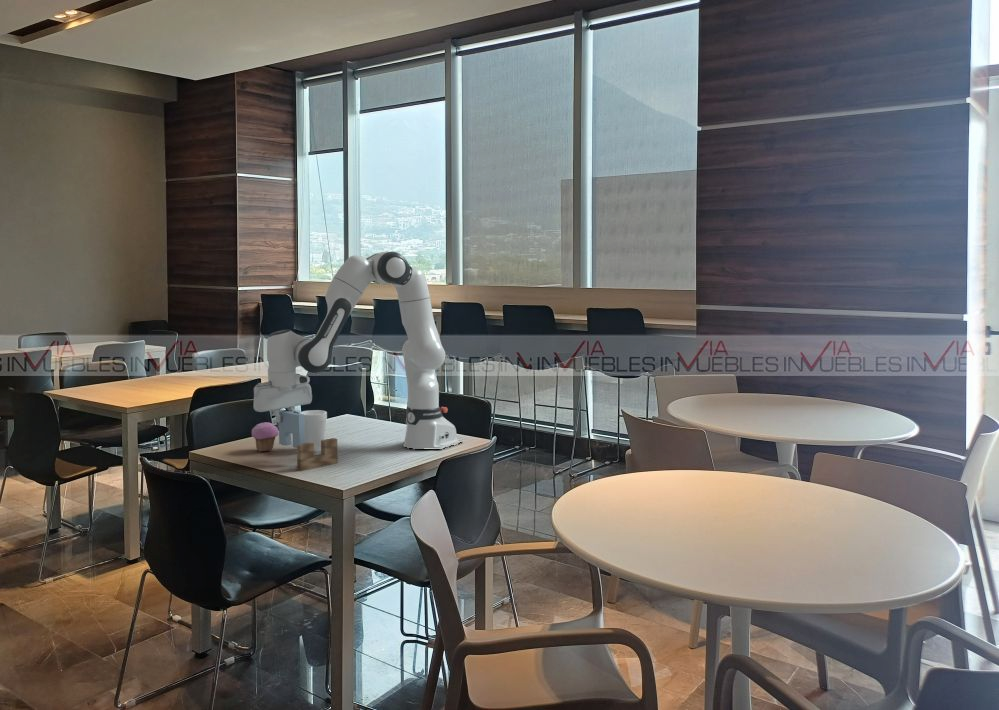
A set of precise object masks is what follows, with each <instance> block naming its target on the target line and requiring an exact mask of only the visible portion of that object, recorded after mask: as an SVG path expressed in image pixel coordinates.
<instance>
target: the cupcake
mask: <svg viewBox="0 0 999 710" xmlns="http://www.w3.org/2000/svg"><path fill="white" fill-rule="evenodd" d="M277 436H279V428H278V427H277V426H275V425H274V424H273V423H271V422H266V421H264V422H260V423H258V424H256V425H255V426H254V427H253V428H251V437H252V438H254V440H255V446H256V450H257V451H258V450H260V451H259V452H261V451H264V452H266V451H270V452H271V451H273V449H274V445H275V440H276V437H277Z"/></svg>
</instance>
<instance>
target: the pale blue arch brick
mask: <svg viewBox="0 0 999 710" xmlns="http://www.w3.org/2000/svg"><path fill="white" fill-rule="evenodd" d="M278 413H279V415H280V416H281V417H283V422H280V423H278V422H277V424H278V427H277V429H278V441H279V443H278V444H279V445H282V446H283V445H284V446H290V445H292V448H294V449H297V445H299V444H304V443H305V427H304V414H299V413H300V412H295V411H294V412H290V411H289V410H284V409H283V410H281V409H280V412H278Z"/></svg>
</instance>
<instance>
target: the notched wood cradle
mask: <svg viewBox="0 0 999 710" xmlns="http://www.w3.org/2000/svg"><path fill="white" fill-rule="evenodd" d="M338 455H339V453H338V438H336V437H335V438H334V437H331V438H327V439H324V440H321V450H320V453H319V454H315V451H314V443H311V442H310V443H304V444H299V445H297V448H296V465H297V466H296V467H297V468H296V470H298V471H300V472H302V471H306V470H311V469H312V470H313V469H315V468H316V469H317V468H322V467H325V466H331V465H335V464H338V461H339V460H338Z"/></svg>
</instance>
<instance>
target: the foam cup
mask: <svg viewBox="0 0 999 710" xmlns="http://www.w3.org/2000/svg"><path fill="white" fill-rule="evenodd" d="M298 413H299V414H304V427H305V443H310V442H311V443H314V452H318V451H319V452H321V440H325V435H326V433H325V432H326V425H327V420H328V412H327V411H326V410H319V409H317V410H316V409H315V410H314V409H313V410H310V409H309V410H303V411H299V412H298Z"/></svg>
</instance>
